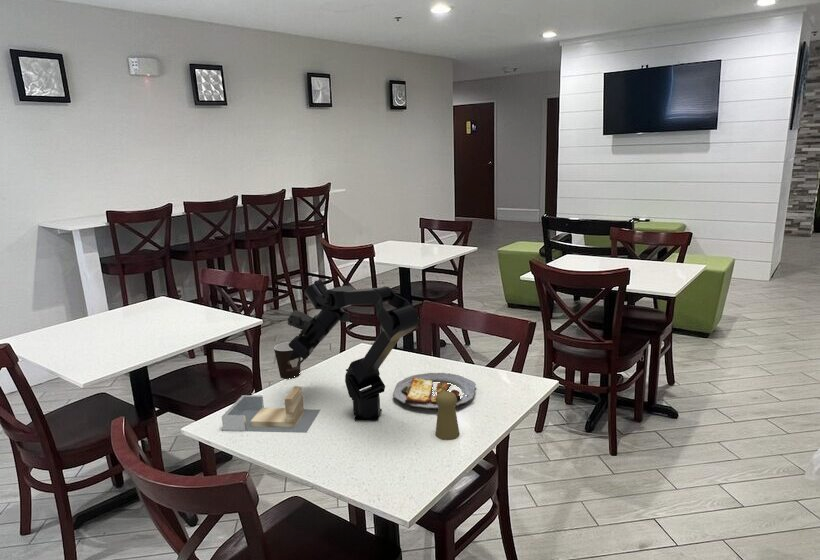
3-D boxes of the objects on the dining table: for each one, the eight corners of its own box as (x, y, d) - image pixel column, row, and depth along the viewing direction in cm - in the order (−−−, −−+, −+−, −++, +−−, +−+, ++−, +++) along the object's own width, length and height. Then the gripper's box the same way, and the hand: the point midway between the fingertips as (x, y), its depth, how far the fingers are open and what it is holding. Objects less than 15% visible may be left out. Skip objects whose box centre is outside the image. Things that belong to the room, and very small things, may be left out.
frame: (264, 408, 156) (262, 395, 155) (245, 431, 144) (243, 417, 143) (243, 408, 157) (242, 395, 156) (223, 430, 144) (221, 416, 143)
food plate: (470, 416, 147) (470, 404, 146) (385, 412, 152) (385, 400, 151) (478, 381, 171) (478, 370, 170) (404, 378, 176) (404, 368, 175)
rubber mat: (320, 410, 154) (320, 409, 154) (306, 433, 142) (306, 432, 141) (242, 409, 157) (242, 408, 157) (221, 432, 144) (221, 430, 144)
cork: (444, 426, 143) (443, 386, 140) (464, 432, 139) (463, 392, 136) (430, 435, 138) (429, 394, 136) (450, 442, 134) (449, 400, 132)
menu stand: (304, 413, 152) (301, 386, 150) (294, 427, 144) (291, 399, 143) (262, 412, 154) (259, 385, 152) (250, 426, 146) (247, 398, 144)
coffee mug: (277, 382, 175) (274, 352, 173) (276, 372, 183) (273, 343, 181) (314, 376, 178) (311, 347, 176) (311, 367, 186) (309, 339, 184)
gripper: (313, 293, 163) (281, 329, 167) (292, 311, 145) (257, 351, 149) (341, 319, 164) (308, 354, 168) (324, 339, 146) (287, 378, 150)
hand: (290, 358), depth 159 cm, fingers closed
